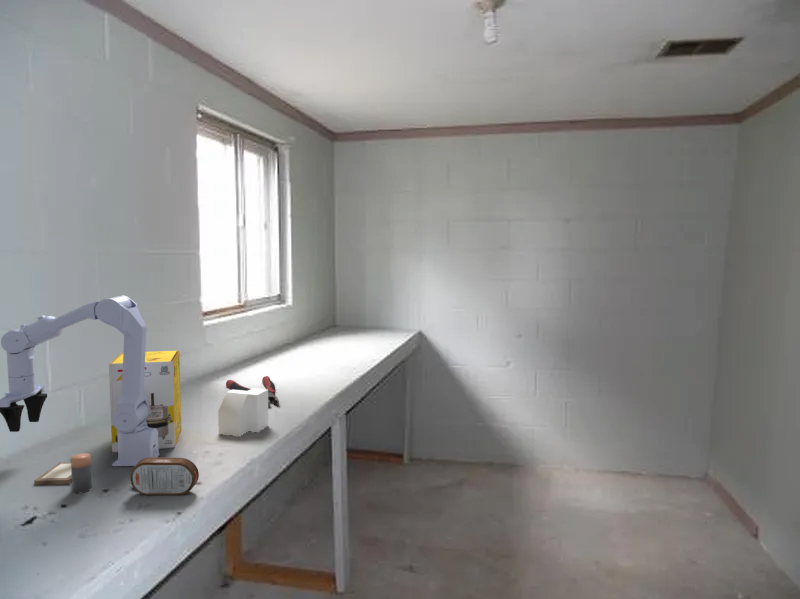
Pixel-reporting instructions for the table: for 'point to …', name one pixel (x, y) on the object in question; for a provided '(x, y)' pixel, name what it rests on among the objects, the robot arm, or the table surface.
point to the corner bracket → (243, 412)
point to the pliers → (267, 384)
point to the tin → (164, 476)
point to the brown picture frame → (56, 475)
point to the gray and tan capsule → (81, 472)
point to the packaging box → (153, 395)
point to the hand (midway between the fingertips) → (24, 426)
